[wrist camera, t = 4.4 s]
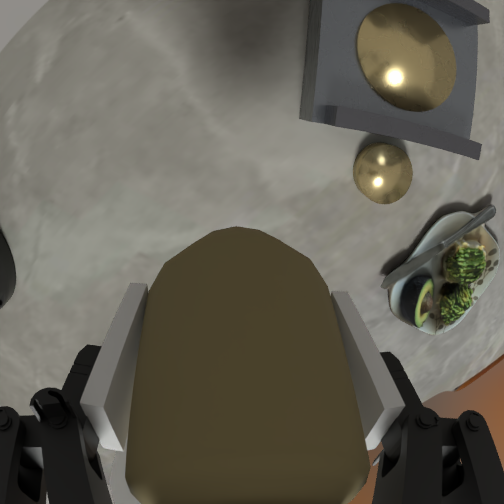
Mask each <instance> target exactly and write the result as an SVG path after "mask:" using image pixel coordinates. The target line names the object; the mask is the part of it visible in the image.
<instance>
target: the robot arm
mask: <svg viewBox="0 0 504 504" xmlns="http://www.w3.org/2000/svg"><path fill="white" fill-rule="evenodd" d="M15 283H16V275H15V267H14V263H13V259H12V256H11V253H10V250H9V248H8V246H7V244H6V242H5V240H4V238H3V236H2V234H1V233H0V309H1V308H2V307H3V306H4V305H5V304H6V303H7V302H8V300H9V299H10V298H11V297H12V295H13V293H14V289H15ZM147 298H148V287H147V284H140V283H130V285H129V287H128V289H127V292H126V294H125V296H124V298H123V300H122V302H121V304H120V306H119V309H118V311H117V313H116V315H115V317H114V320H113V322H112V324H111V326H110V329H109V331H108V333H107V336H106V338H105V340H104V342H103V345H102V346H95V345H88V344H87V345H86V346H85V347H84V348H83V349H82V350H81V351H80V352H79V353H78V355H77V357H76V359H75V361H74V365H72V368H71V370H70V373H69V374H68V376H67V379H66V381H65V383H64V386H63V388H62V390H59V389H57V388H45V389H41V390H40V391H38V392H37V393H35V394H34V396H33V397H32V399H31V401H30V408H31V409H32V411H33V412H34V414H35V415H31V416H19V414H18V413H17V412H16V411H15V410H14V409H13V408H11V407H8V406H5V407H0V504H46V494H48V499H49V504H112V500H111V498H110V494H109V491H108V487H107V483H106V480H105V476H104V472H103V468H102V464H101V460H100V456H99V454H98V452H97V447H98V443H99V441H100V443H101V445H102V446H103V448H106V449H111V450H117V451H123V452H124V448H125V443H126V438H127V434H128V429H129V418H130V409H131V400H132V392H133V384H134V377H135V370H136V363H137V356H138V349H139V343H140V337H141V331H142V325H143V320H144V314H145V309H146V303H147ZM331 300H332V304H333V307H334V311H335V314H336V318H337V322H338V326H339V329H340V333H341V337H342V341H343V345H344V349H345V353H346V357H347V361H348V365H349V369H350V373H351V377H352V381H353V386H354V390H355V394H356V399H357V403H358V408H359V412H360V417H361V422H362V426H363V431H364V436H365V441H366V446H367V450H371V449H375V448H376V447H377V445H378V444H379V443H380V441H381V442H382V444H383V447H384V449H383V450H382V451H381V453H380V454H379V455H378V456H377V458H376V459H375V460H374V462H373V465H376V464H377V463H378V461H379V466H378V473H377V478H376V485H375V491H374V496H373V501H372V504H504V471H503V468H502V465H501V462H500V459H499V456H498V453H497V450H496V447H495V444H494V441H493V439H492V436H491V433H490V431H489V428H488V426H487V423H486V421H485V419H484V418H483V416H482V415H481V414H479V413H477V412H476V411H472V410H467V411H465V412H463V413H462V414H461V415H460V416H459V418H458V419H453V418H452V419H450V418H440V417H439V416H438V415H437V413H436V412H434V411H433V410H431V409H429V408H426V407H424V406H423V405H422V403H421V401H420V399H419V397H418V395H417V393H416V391H415V389H414V387H413V386H412V384H411V382H410V380H409V379H408V376H407V374H406V372H405V371H404V368H403V367H402V365H401V363H400V361H399V360H398V359H397V358H396V357H395V356H394V355H393V354H392V353H391V352H379V350H378V348H377V347H376V345H375V343H374V341H373V339H372V337H371V335H370V333H369V331H368V329H367V327H366V325H365V323H364V322H363V320H362V318H361V316H360V314H359V312H358V310H357V308H356V307H355V305H354V303H353V301H352V299H351V297H350V295H349V294H348V292H338V291H332V293H331ZM460 458H461V462H462V464H461V462H460Z"/></svg>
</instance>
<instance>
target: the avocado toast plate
mask: <svg viewBox="0 0 504 504" xmlns="http://www.w3.org/2000/svg"><path fill="white" fill-rule="evenodd" d="M495 213H496V208H495V206H494V205H489V206H487V207H485V208H484V209H482V210H481V211H479V212H477V213H468V212H466V211H458V212H454V213H451V214H447V215H444V216H442V217H441V218H440V219H439V220H437V221H436V222H435V223H434V225H433V226H432V227H431V228H430V229H429V230H428V231H427V233H426V234H425V235H424V237H423V238H422V240H421V241H420V242H419V244H418V245H417V247H416V248H415V249H414V251H413V252H412V253H411V255H410V256H409V257H408V258H407V259H406V261H405V262H404V263H403V264H402V265H400V266H399V267H397V268H396V269H395V270H394V271H393V272H391V273H390V274H389V275H388V276H387V277H385V279H384V281H383V283H382V285H381V288H384V289H386V288H388V298H389V306H390V309H391V311H392V313H393V314H394V315H395V316H396V317H397V318H398V319H400V320H401V321H403V322H405V323H407V324H409V325H411V326H413V327H415V328H416V329H418V330H420V331H422V332H424V333H427V334H429V335H439V334H442V333H444V332H447V331H448V330H450V329H452V328H454V327H455V326H456V325H457V324H459V322H460V321H461V320H462V319H463V318H464V317H465V316H466V314H467V313H468V312H469V310H470V309H471V308H472V306H473V305H474V304H475V302H476V301H477V300H478V298H479V297H480V295H481V294H482V293H483V292H484V291H485V289H486V288H487V286H488V285H489V284H490V282H491V281H492V279H493V278H494V276H495V274H496V272H497V269H498V265H499V258H500V250H499V246H498V244H497V242H496V241H495V240H494V238H493V237H492V235H491V234H490V233H489V232H488V230H487V229H486V227H485V222H487V221H489V220H490V219H491V218H493V217H494V216H495ZM470 283H472V284H471V286H470V288H468V284H470ZM444 284H445V286H443V285H444Z"/></svg>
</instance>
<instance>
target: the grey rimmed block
mask: <svg viewBox="0 0 504 504" xmlns="http://www.w3.org/2000/svg"><path fill="white" fill-rule="evenodd" d="M485 23H490V21H489V9H487V8H485V7H484V6H482V5H480V4H479V3H477V2H475V1H474V0H310V8H309V21H308V33H307V45H306V56H305V67H304V78H303V88H302V98H301V108H300V118H299V119H302V120H306V121H311V122H317V123H324V124H328V125H332V126H336V127H343V128H348V129H354V130H360V131H365V132H370V133H375V134H380V135H385V136H390V137H394V138H399V139H403V140H408V141H412V142H416V143H420V144H424V145H428V146H432V147H435V148H439V149H443V150H446V151H450V152H453V153H457V154H460V155H464V156H467V157H470V158H473V159H476V160H479V157H480V152H481V146H482V144H480V143H477V142H474V141H472V140H469V139H470V133H471V126H472V118H473V110H474V100H475V89H476V75H477V47H478V32H477V25H479V24H485Z"/></svg>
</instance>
